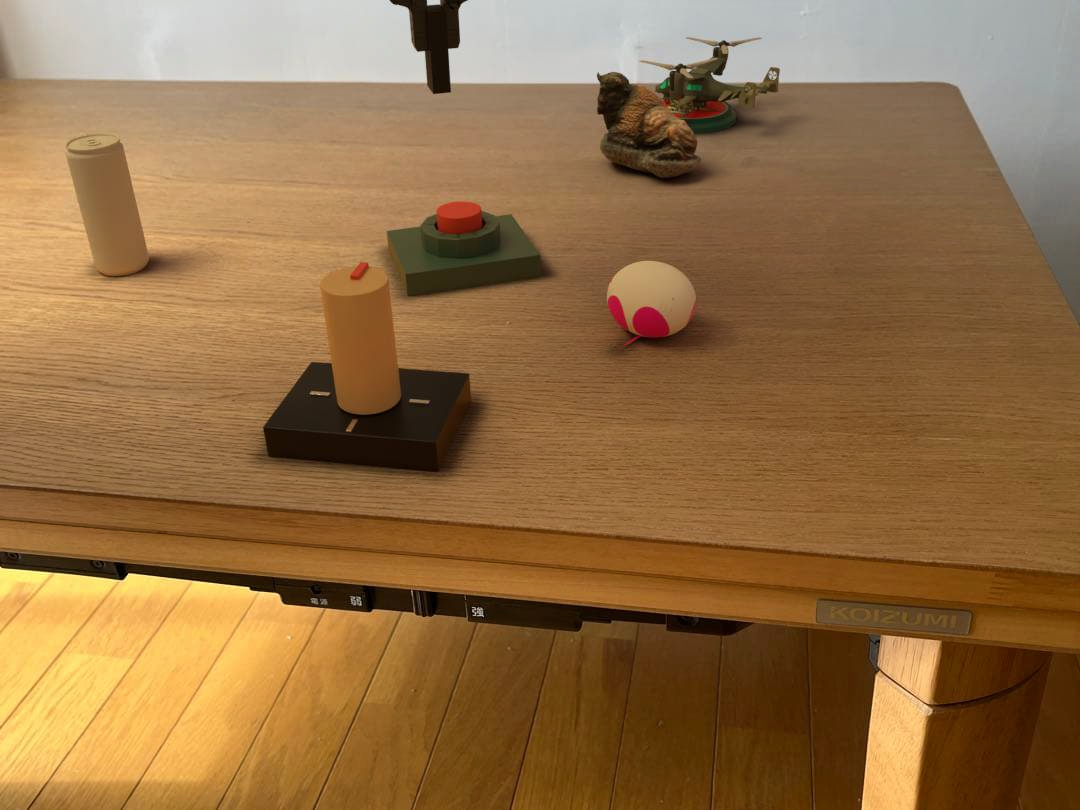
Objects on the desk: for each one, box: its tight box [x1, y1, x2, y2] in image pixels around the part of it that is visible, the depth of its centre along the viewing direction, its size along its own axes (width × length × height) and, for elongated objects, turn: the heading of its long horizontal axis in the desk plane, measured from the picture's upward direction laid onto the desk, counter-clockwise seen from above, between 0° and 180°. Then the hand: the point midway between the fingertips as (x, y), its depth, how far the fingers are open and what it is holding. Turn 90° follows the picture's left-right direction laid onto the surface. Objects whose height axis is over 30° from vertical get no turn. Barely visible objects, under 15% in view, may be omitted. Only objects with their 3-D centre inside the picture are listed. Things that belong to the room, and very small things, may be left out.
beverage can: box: [64, 132, 150, 277], centre depth 100 cm, size 5×5×12 cm
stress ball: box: [606, 260, 697, 349], centre depth 88 cm, size 8×8×7 cm
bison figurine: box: [596, 71, 702, 179], centre depth 118 cm, size 12×7×10 cm, turn 56°
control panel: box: [262, 361, 472, 473], centre depth 77 cm, size 12×9×3 cm
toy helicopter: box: [638, 36, 781, 135], centre depth 132 cm, size 20×15×8 cm
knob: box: [319, 261, 401, 415], centre depth 74 cm, size 4×4×9 cm
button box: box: [386, 210, 542, 297], centre depth 100 cm, size 12×10×4 cm
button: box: [436, 200, 483, 234], centre depth 99 cm, size 4×4×2 cm
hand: (439, 88), depth 93 cm, fingers closed
